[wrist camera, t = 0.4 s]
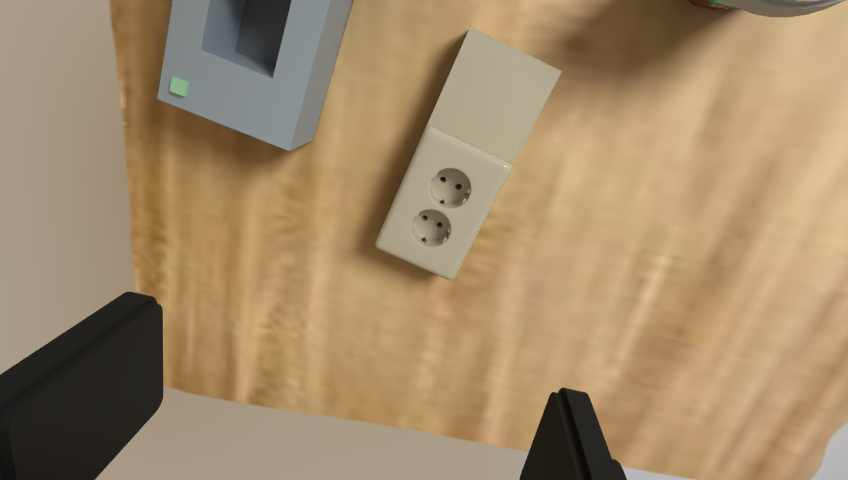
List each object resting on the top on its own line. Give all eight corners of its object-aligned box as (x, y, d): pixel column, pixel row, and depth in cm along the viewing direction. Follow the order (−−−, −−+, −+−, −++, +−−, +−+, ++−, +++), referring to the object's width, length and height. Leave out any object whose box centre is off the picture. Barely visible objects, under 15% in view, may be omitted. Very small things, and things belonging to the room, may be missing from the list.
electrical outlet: (564, 71, 32) (452, 283, 38) (554, 70, 36) (453, 263, 42) (470, 25, 31) (372, 248, 38) (469, 29, 35) (381, 231, 42)
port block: (234, -96, 33) (188, -128, 28) (365, -41, 34) (345, -62, 28) (198, 94, 38) (153, 99, 33) (312, 140, 39) (287, 152, 33)
